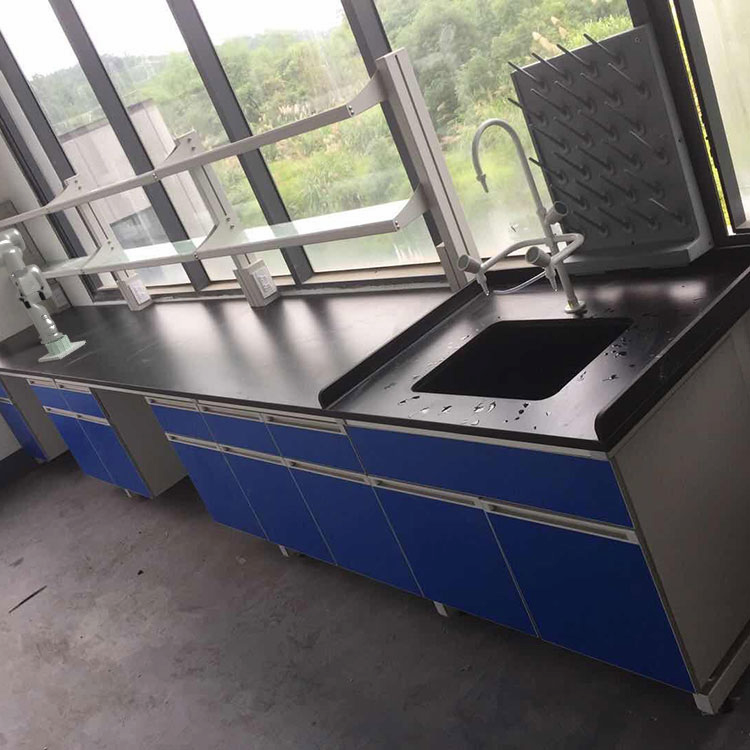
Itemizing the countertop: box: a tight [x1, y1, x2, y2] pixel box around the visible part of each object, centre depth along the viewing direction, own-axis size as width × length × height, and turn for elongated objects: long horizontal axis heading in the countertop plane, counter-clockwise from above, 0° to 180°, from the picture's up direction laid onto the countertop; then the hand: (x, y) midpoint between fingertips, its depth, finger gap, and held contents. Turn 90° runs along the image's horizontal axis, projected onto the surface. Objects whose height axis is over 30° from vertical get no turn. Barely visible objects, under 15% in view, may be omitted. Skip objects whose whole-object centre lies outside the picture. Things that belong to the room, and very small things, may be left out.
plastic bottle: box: [40, 314, 62, 343], centre depth 412 cm, size 6×7×20 cm
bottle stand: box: [37, 334, 87, 363], centre depth 414 cm, size 18×18×8 cm
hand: (36, 304), depth 406 cm, fingers open, 9 cm apart
